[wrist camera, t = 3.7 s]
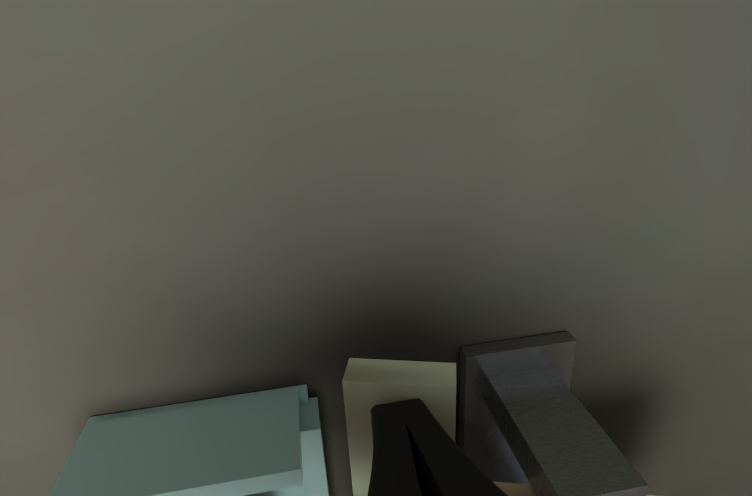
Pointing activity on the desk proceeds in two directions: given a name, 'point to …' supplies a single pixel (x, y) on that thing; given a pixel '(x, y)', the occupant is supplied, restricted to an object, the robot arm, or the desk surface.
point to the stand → (536, 421)
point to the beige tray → (393, 384)
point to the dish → (203, 449)
